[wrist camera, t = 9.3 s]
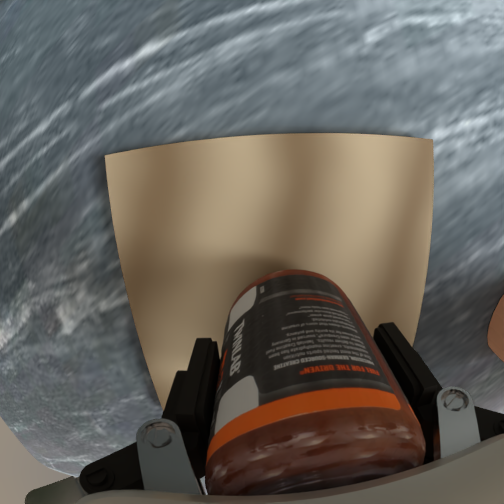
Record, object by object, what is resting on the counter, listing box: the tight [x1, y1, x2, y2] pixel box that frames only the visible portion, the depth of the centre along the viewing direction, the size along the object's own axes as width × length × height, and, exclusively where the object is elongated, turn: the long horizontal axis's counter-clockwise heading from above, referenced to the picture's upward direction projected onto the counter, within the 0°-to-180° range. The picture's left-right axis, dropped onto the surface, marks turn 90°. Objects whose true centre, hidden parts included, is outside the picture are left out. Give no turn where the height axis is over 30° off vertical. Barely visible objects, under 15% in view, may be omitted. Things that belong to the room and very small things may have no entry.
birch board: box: [105, 133, 434, 411], centre depth 15 cm, size 16×17×1 cm
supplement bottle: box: [205, 269, 426, 496], centre depth 8 cm, size 6×6×11 cm
